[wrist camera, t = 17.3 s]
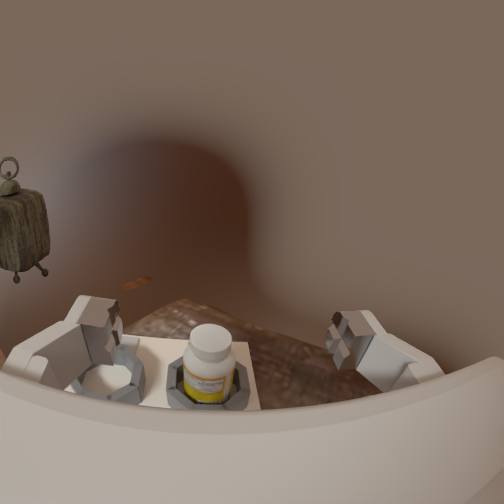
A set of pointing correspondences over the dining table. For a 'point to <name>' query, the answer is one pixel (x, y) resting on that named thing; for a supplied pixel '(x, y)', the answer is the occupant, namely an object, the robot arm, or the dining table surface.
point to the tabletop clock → (22, 226)
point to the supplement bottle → (209, 365)
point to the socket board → (161, 376)
